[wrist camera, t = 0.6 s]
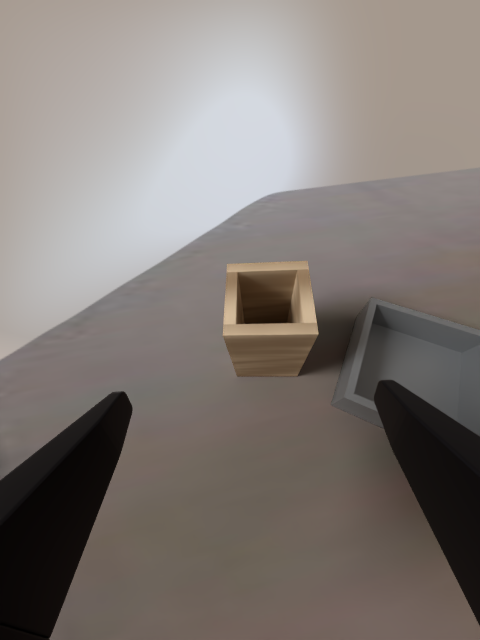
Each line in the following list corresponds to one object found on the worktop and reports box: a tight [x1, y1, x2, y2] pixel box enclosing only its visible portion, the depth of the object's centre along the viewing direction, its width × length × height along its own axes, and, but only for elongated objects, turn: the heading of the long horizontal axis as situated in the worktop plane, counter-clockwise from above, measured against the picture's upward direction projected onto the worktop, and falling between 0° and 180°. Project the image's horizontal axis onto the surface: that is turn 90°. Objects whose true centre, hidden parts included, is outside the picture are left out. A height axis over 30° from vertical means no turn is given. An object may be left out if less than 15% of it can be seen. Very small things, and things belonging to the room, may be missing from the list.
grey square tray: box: [331, 297, 480, 436], centre depth 20 cm, size 10×10×4 cm
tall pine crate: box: [223, 261, 318, 376], centre depth 20 cm, size 6×6×10 cm
